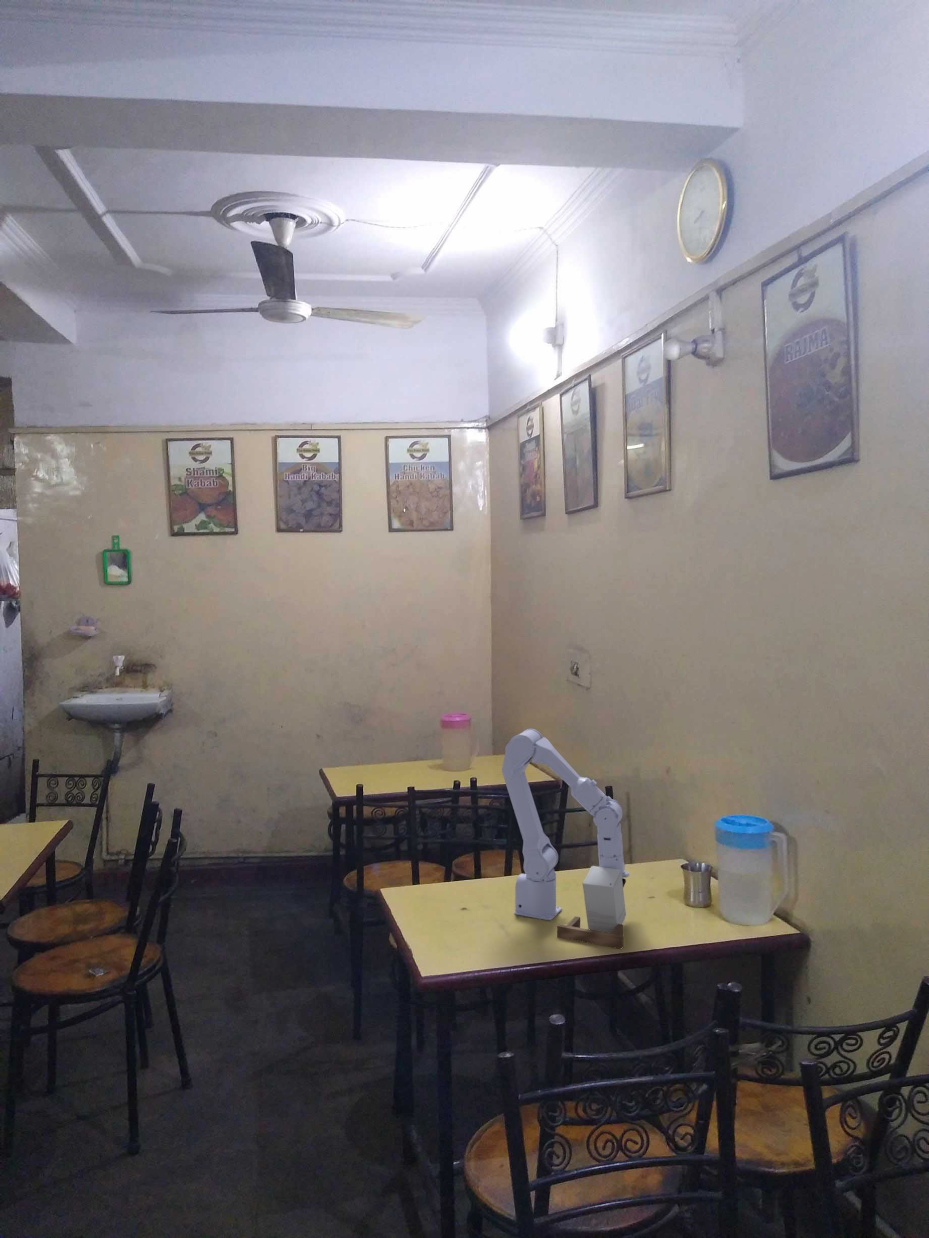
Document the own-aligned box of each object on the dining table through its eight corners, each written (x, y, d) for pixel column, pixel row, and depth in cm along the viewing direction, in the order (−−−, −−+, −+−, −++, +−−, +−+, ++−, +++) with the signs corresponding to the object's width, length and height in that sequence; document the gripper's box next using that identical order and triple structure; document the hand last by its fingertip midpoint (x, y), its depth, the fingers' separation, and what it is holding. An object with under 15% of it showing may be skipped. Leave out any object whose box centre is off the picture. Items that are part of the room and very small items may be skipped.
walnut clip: (557, 936, 202) (557, 925, 202) (567, 925, 208) (567, 914, 208) (621, 948, 195) (621, 937, 195) (631, 936, 202) (631, 925, 201)
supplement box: (626, 915, 209) (622, 868, 205) (618, 935, 203) (613, 887, 199) (596, 910, 212) (591, 864, 209) (586, 929, 206) (581, 882, 202)
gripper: (618, 864, 201) (622, 923, 202) (635, 845, 214) (639, 901, 215) (588, 862, 204) (592, 920, 205) (607, 843, 217) (610, 898, 218)
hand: (614, 910), depth 210 cm, fingers closed, pressing on supplement box
